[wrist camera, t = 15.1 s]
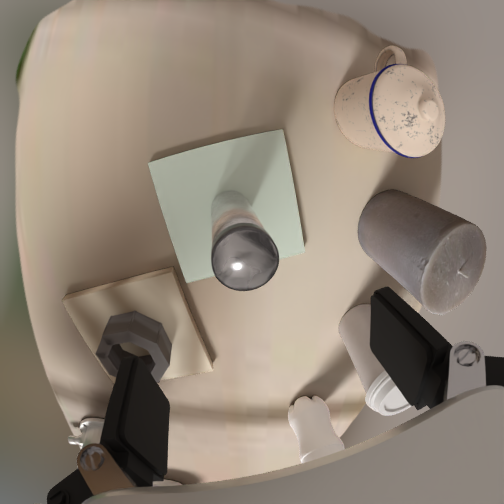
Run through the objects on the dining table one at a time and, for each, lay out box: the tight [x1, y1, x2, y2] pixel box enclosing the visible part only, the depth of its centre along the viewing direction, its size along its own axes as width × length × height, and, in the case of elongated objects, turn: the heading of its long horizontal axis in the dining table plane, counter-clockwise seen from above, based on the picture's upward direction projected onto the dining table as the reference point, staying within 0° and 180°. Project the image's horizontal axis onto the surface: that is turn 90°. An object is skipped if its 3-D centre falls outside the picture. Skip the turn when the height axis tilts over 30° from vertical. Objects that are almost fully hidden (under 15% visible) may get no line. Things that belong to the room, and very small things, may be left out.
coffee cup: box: [339, 304, 411, 416], centre depth 33 cm, size 10×10×15 cm
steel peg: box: [211, 190, 279, 291], centre depth 24 cm, size 4×4×13 cm
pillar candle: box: [358, 190, 486, 315], centre depth 27 cm, size 10×10×15 cm
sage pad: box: [148, 129, 305, 283], centre depth 30 cm, size 14×14×1 cm
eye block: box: [62, 266, 213, 383], centre depth 32 cm, size 16×16×6 cm
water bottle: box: [288, 396, 344, 463], centre depth 34 cm, size 7×7×25 cm
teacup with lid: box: [334, 46, 445, 158], centre depth 22 cm, size 12×9×12 cm
